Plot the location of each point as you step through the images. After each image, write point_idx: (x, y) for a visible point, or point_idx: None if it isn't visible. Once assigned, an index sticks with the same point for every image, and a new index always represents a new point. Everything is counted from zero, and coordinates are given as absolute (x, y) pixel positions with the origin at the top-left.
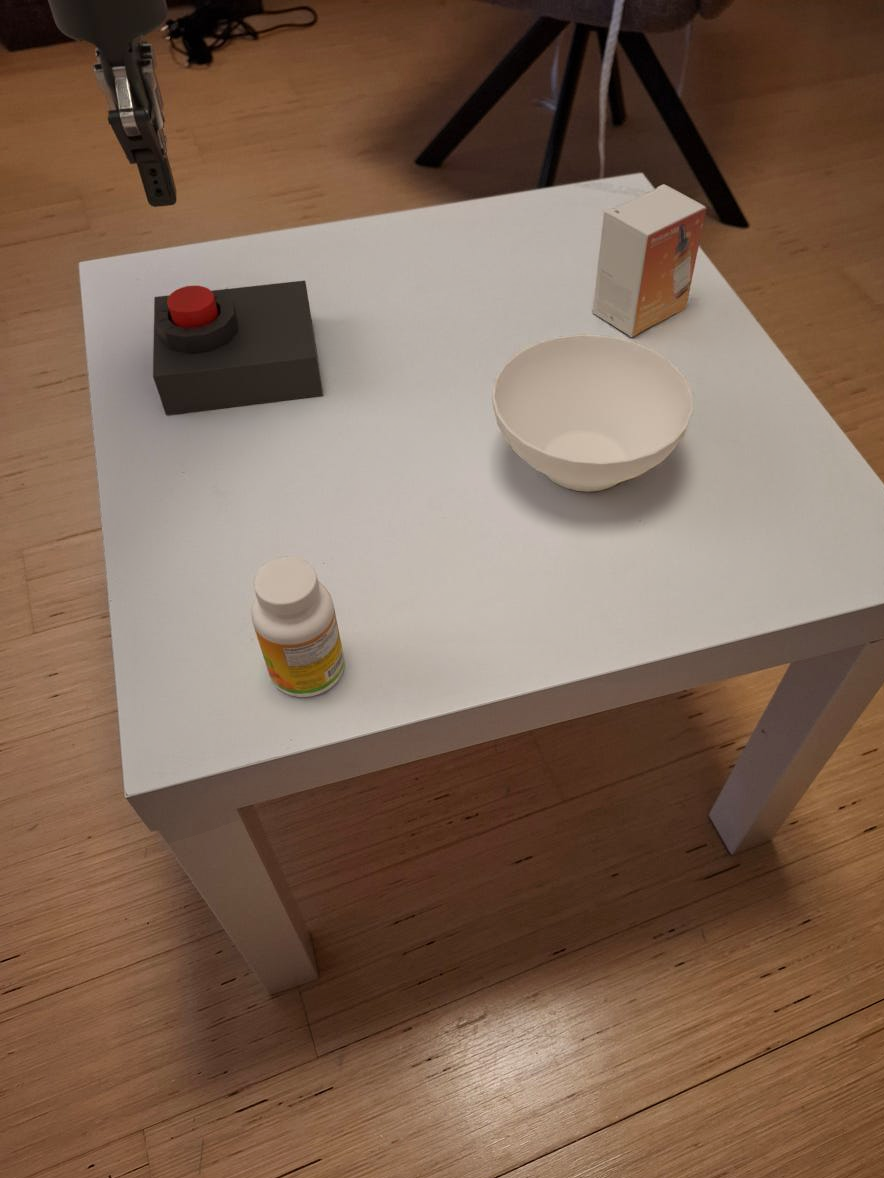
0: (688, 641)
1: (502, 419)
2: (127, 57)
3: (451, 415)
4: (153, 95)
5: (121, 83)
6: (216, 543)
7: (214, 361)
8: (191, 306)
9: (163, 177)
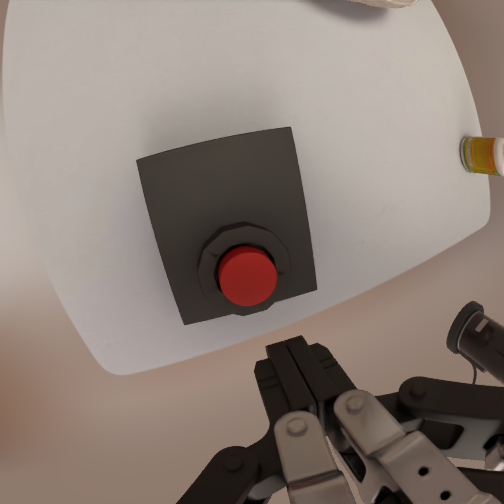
0: (431, 2)
1: (400, 3)
2: None
3: (298, 34)
4: (470, 487)
5: None
6: (416, 206)
7: (297, 236)
8: (265, 274)
9: (344, 372)
